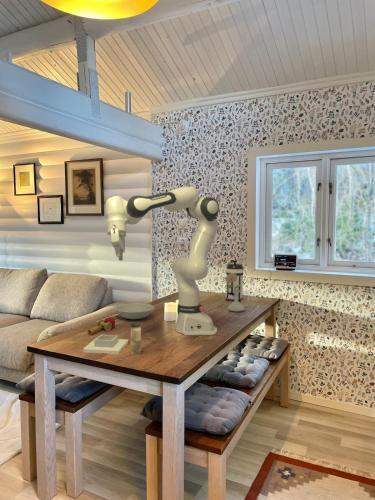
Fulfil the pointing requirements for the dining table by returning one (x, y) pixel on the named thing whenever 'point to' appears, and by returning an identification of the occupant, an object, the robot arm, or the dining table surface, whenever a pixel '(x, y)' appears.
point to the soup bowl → (134, 310)
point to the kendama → (103, 325)
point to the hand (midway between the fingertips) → (119, 258)
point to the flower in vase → (235, 305)
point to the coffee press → (238, 271)
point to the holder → (106, 345)
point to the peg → (135, 338)
